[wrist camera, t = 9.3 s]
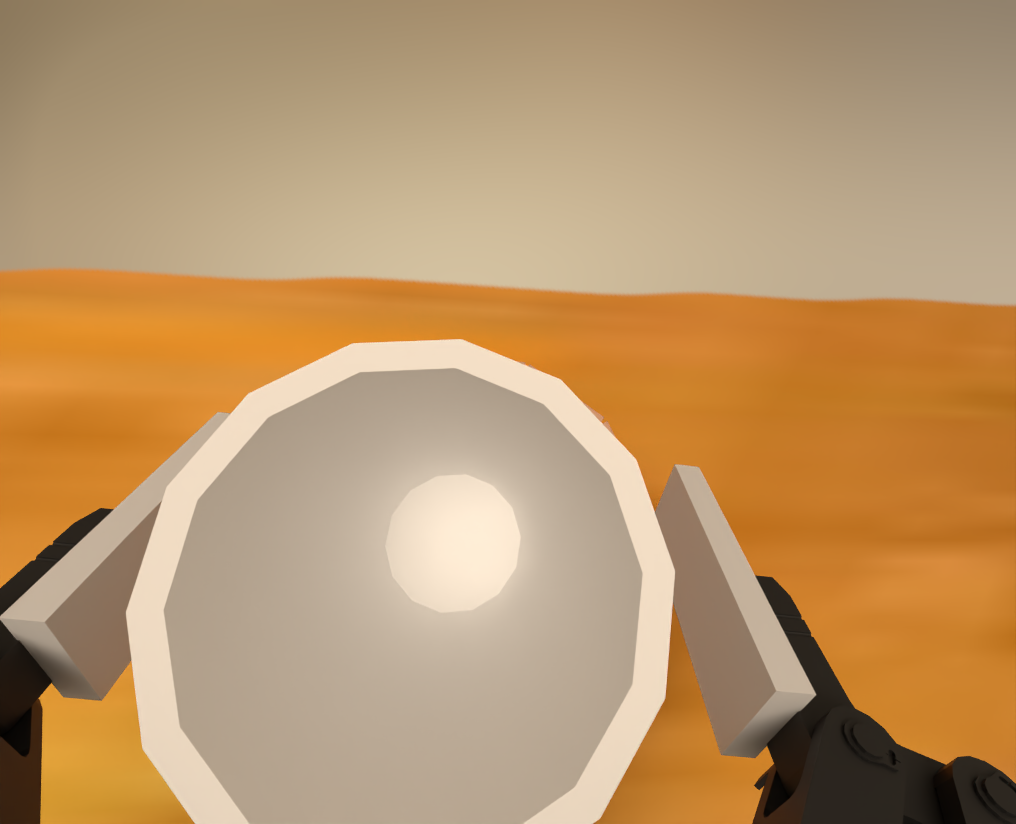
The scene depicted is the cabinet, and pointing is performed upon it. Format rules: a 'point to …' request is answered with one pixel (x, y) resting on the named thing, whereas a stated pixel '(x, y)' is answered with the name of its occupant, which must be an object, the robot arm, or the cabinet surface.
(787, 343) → the cabinet surface
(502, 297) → the cabinet surface
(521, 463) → the foam cup
